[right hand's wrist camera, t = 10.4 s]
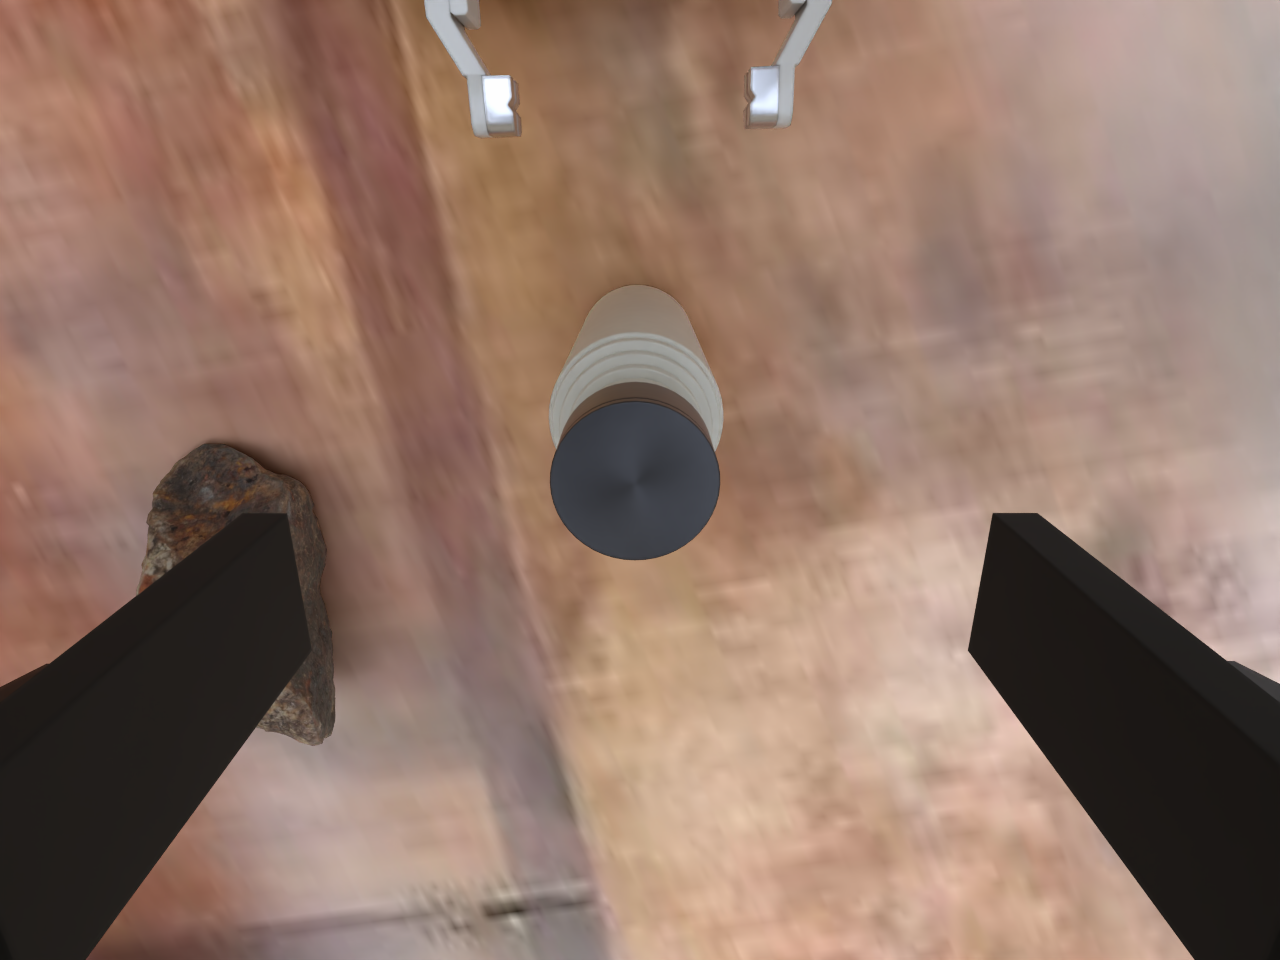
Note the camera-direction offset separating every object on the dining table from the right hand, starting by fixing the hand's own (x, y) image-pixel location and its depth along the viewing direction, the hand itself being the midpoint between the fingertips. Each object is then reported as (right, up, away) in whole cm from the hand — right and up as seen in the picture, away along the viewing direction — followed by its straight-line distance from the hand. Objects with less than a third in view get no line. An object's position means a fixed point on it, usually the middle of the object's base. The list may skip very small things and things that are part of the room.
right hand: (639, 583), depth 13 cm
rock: (-20, -3, +26) cm, 33 cm away
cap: (0, +2, +5) cm, 5 cm away
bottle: (0, +8, +22) cm, 24 cm away
